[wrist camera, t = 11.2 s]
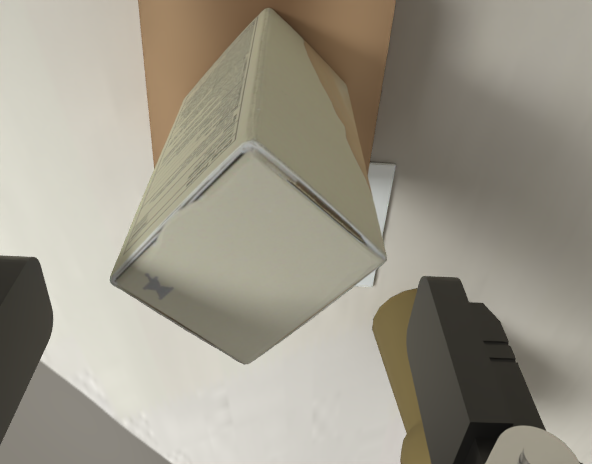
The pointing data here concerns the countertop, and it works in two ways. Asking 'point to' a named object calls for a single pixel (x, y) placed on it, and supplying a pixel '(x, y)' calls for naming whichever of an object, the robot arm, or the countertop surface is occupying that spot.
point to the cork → (401, 372)
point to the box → (255, 199)
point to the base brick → (230, 24)
